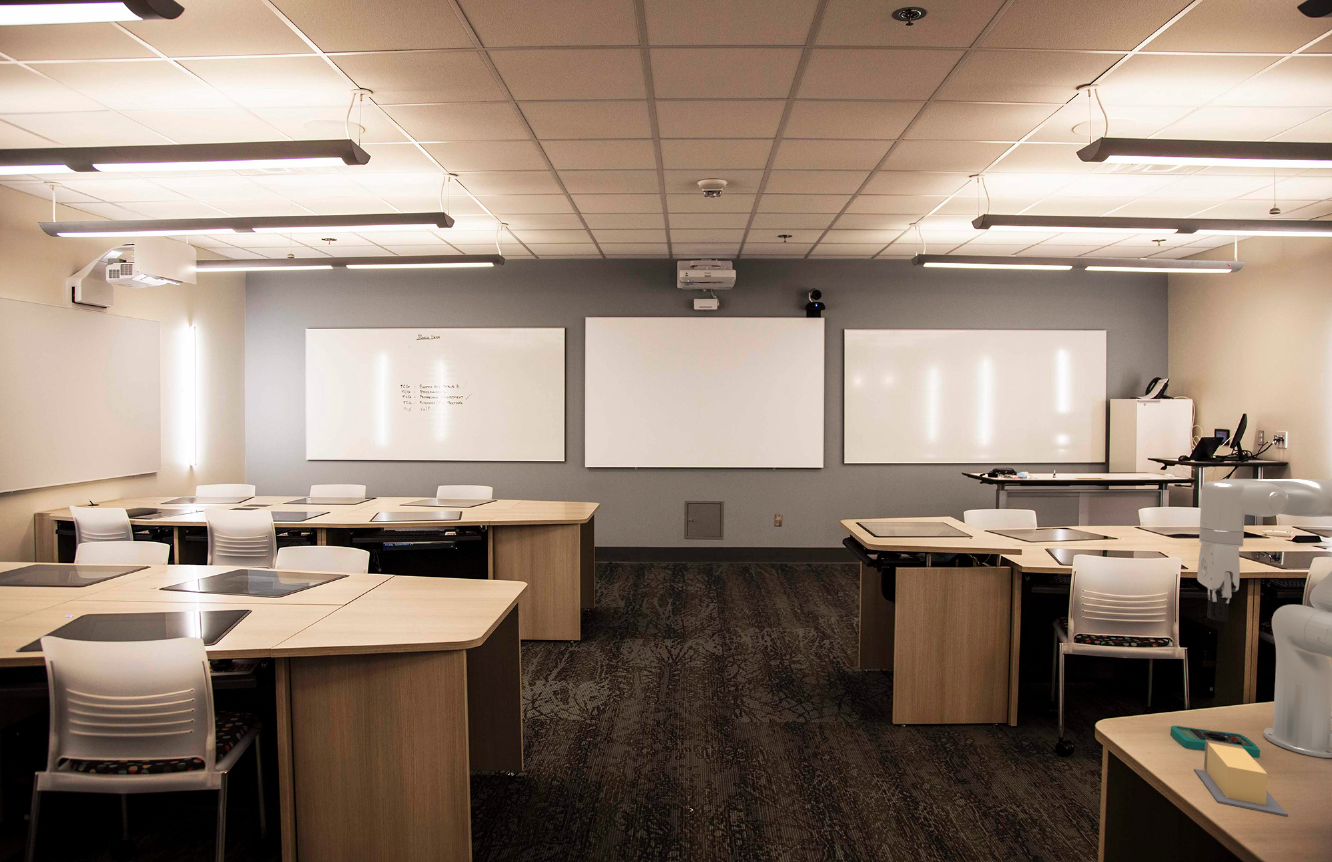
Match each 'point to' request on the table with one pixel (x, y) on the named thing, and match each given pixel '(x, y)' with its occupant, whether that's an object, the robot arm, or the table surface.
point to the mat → (1221, 798)
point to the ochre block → (1235, 772)
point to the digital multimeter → (1211, 739)
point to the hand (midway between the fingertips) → (1217, 619)
